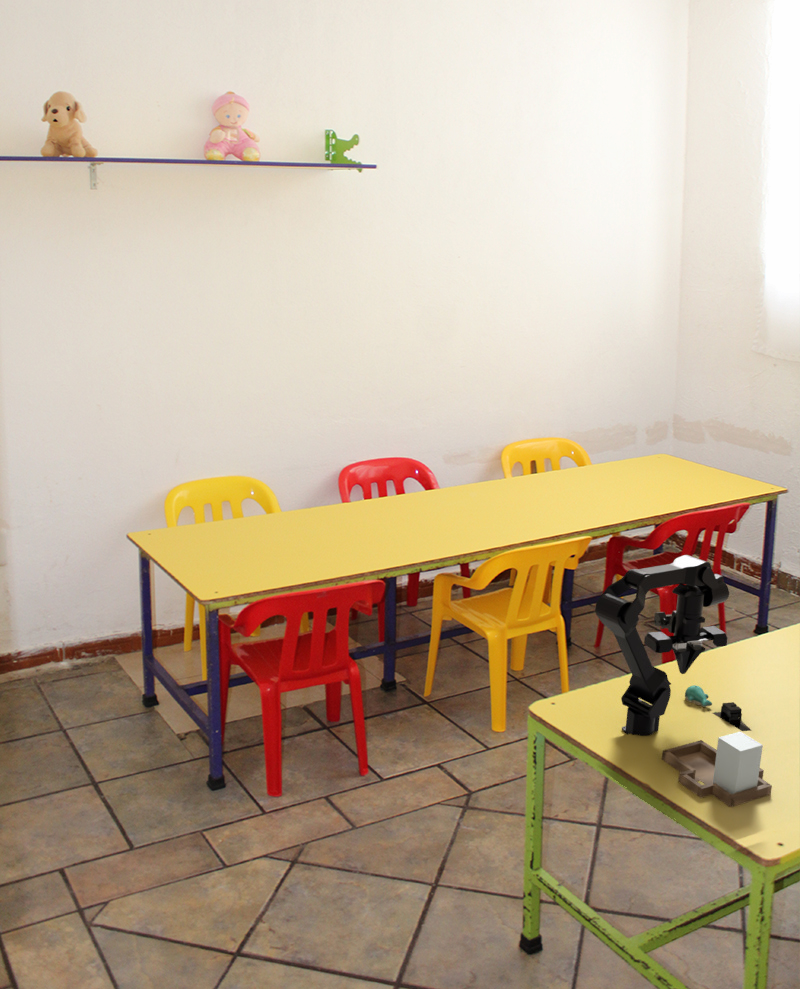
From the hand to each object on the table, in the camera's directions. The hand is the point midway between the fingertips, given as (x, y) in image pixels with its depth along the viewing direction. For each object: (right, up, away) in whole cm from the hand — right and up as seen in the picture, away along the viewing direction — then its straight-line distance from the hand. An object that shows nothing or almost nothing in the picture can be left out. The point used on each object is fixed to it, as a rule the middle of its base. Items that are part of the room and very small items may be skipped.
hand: (682, 673), depth 228 cm
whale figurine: (+7, -10, +12) cm, 17 cm away
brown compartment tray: (0, -18, -22) cm, 29 cm away
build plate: (+12, -13, +3) cm, 18 cm away
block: (+3, -19, -28) cm, 33 cm away
